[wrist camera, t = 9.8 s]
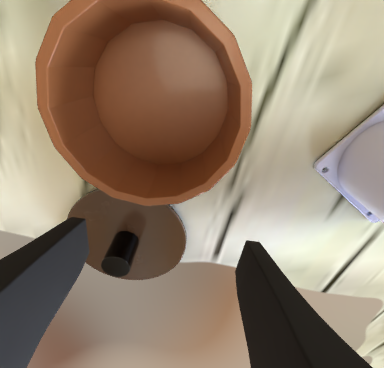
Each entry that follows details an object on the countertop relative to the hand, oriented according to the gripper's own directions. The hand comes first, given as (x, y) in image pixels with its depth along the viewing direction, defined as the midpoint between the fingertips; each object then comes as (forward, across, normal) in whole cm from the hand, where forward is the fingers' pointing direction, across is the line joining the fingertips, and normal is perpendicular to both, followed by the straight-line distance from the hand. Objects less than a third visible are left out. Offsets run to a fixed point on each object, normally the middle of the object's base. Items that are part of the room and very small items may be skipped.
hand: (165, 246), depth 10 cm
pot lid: (+10, +4, +9) cm, 14 cm away
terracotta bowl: (+10, +2, -5) cm, 11 cm away
